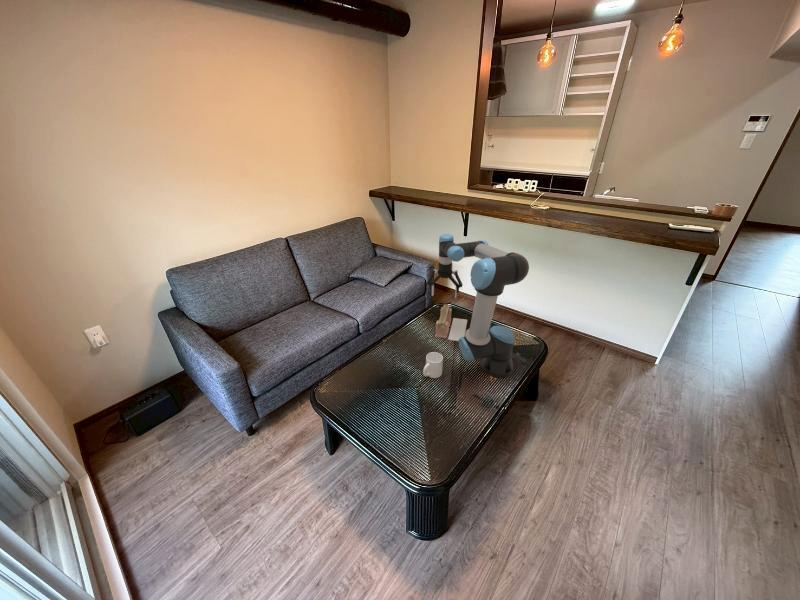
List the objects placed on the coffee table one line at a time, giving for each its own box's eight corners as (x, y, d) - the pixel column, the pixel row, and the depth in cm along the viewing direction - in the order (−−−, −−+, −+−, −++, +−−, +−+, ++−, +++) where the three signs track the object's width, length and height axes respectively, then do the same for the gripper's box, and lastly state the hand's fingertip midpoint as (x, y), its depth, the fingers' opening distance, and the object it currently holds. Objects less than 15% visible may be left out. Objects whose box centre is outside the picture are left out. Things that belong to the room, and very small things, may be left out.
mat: (467, 320, 196) (467, 319, 196) (463, 342, 176) (463, 341, 176) (453, 318, 199) (453, 318, 198) (447, 340, 178) (448, 339, 178)
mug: (429, 385, 147) (429, 368, 142) (417, 376, 153) (417, 360, 148) (445, 373, 154) (446, 357, 149) (433, 365, 160) (434, 349, 155)
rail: (449, 309, 195) (449, 305, 193) (443, 328, 177) (444, 323, 175) (443, 309, 196) (444, 304, 194) (438, 327, 178) (438, 322, 176)
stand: (451, 319, 198) (452, 307, 193) (446, 338, 180) (447, 325, 176) (440, 318, 199) (441, 306, 195) (435, 336, 182) (435, 324, 178)
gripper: (468, 261, 168) (466, 295, 178) (424, 258, 174) (424, 291, 185) (467, 266, 162) (465, 301, 172) (422, 263, 168) (422, 296, 178)
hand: (444, 296), depth 178 cm, fingers open, 13 cm apart
